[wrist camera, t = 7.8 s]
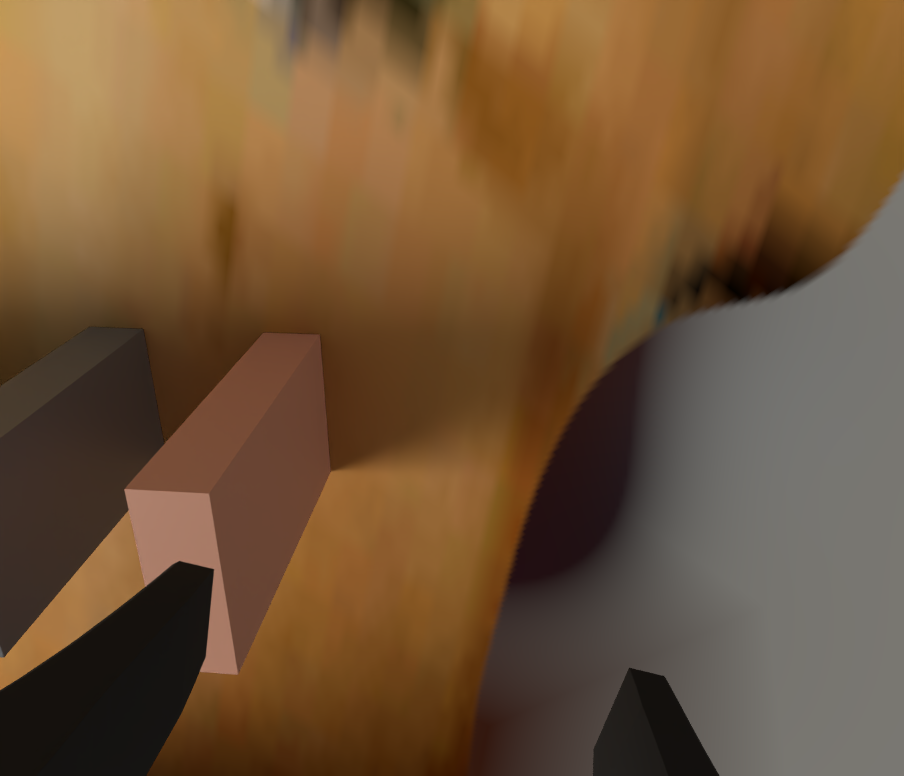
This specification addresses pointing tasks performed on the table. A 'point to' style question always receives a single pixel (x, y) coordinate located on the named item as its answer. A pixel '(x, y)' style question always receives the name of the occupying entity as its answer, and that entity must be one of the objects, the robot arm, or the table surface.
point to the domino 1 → (68, 463)
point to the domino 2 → (239, 487)
